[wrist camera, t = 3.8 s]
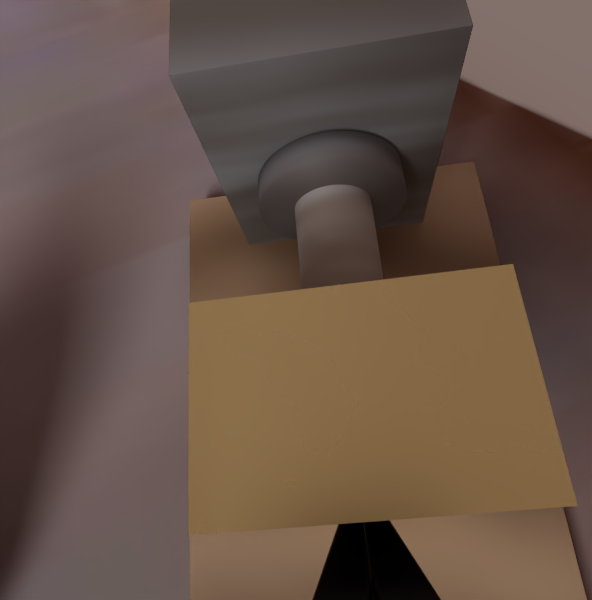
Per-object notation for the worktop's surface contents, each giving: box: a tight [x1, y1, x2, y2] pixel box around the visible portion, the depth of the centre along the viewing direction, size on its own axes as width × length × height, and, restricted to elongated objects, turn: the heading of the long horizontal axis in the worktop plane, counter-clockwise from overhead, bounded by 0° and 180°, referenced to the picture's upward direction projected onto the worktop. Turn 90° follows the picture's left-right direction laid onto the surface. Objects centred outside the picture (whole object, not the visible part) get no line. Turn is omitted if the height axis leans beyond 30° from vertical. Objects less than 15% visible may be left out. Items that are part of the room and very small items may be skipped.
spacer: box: [189, 264, 578, 535], centre depth 12 cm, size 4×6×9 cm, turn 95°
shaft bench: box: [169, 0, 587, 600], centre depth 12 cm, size 22×12×10 cm, turn 5°
